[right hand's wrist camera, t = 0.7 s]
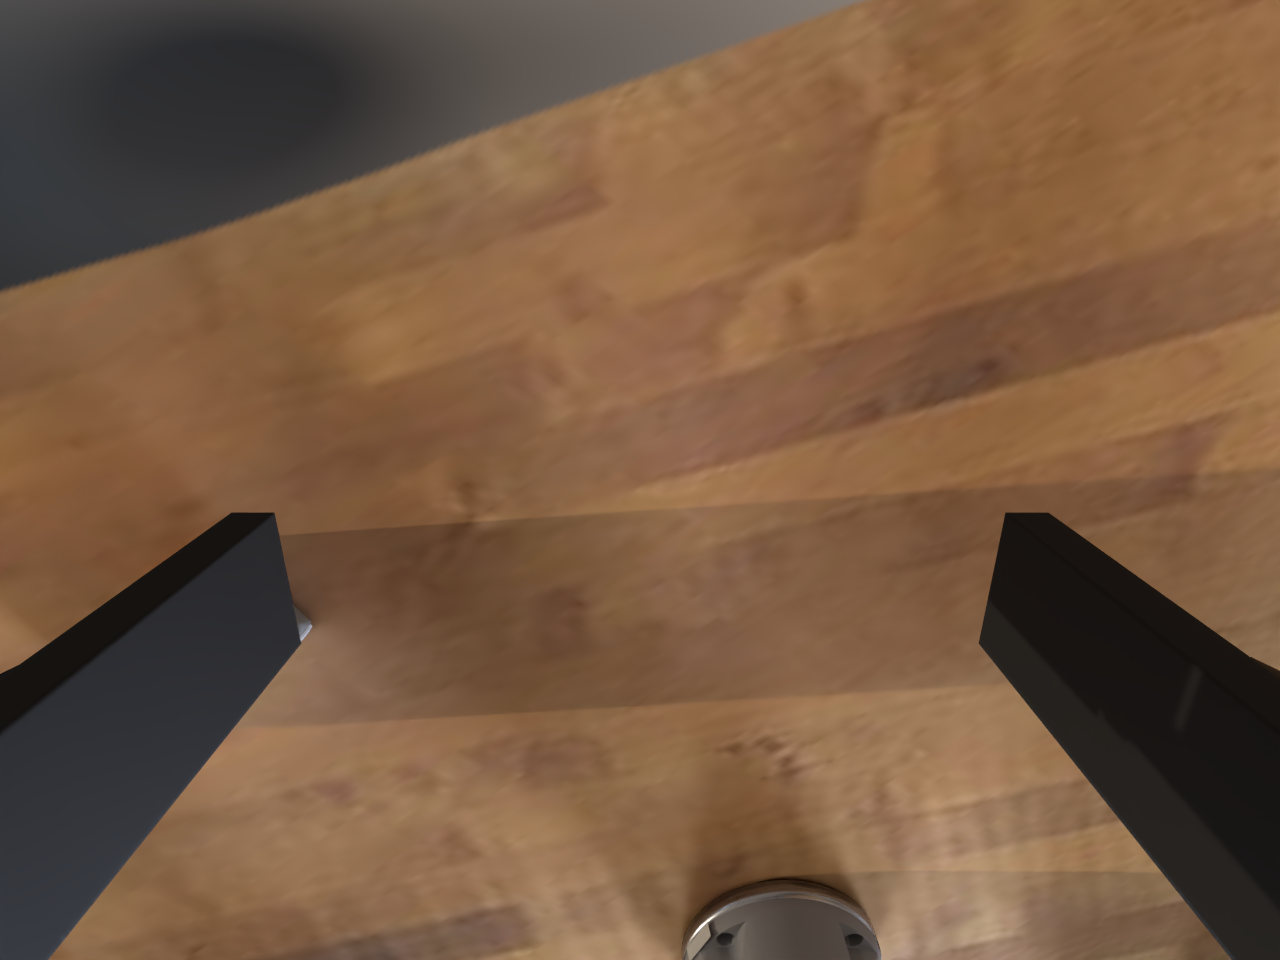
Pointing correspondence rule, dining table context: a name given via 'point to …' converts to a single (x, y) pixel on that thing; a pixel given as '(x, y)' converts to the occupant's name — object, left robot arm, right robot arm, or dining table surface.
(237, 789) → the dining table surface
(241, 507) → the dining table surface
